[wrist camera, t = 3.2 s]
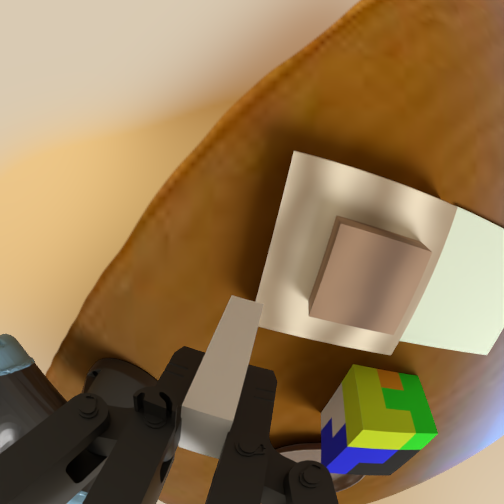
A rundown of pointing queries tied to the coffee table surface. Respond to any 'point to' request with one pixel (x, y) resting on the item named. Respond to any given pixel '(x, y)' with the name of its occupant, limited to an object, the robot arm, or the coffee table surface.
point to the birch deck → (317, 236)
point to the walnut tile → (367, 276)
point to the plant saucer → (314, 453)
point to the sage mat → (463, 290)
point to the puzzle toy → (374, 422)
